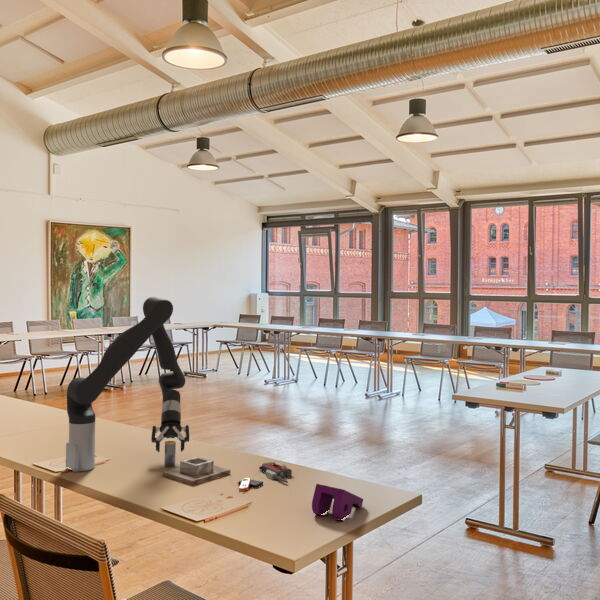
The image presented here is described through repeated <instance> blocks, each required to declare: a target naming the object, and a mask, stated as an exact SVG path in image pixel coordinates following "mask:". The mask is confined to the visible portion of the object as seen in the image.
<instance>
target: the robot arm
mask: <svg viewBox="0 0 600 600" xmlns="http://www.w3.org/2000/svg"><path fill="white" fill-rule="evenodd" d="M142 311H143V315H144V317H143V318H142V320H140V321H139V322H138V323H137V324H135V325H133V326H131V327H129V328H127V329H126V330H124V331H122V332H121V333H120V334H119V335H118V336H117V337H116V338H115V339H114V340H112V342H111V343H110V344H109V345H108V346H107V348H106V350H105V352H104V353H103V355H102V356H101V357H102V358H101V360H100V362H99V364H98V365H97V366H96V367H95V369H94V370H93V371H92V372H91V373H90V374H89V375H88V376H86V377H84V376H83V377H82V376H81V377H80V376H79V377H75V378H72V380H70V382H69V383H68V385H67V389H66V413H67V417H68V442H66V444H65V468H66V467H69V468H71V469H72V471H71V472H74V473H77V472H86V471H87V472H88V471H91V470H93V469H94V468H95V466H96V465H95V464H96V462H95V461H96V459H95V458H96V454H95V453H96V413H95V411H94V408H93V402H95V401H96V400H97V399H98V397H100V395H101V393H102V392H103V391H104V389H105V388H106V387H107V385H108V384H110V382H111V380H112V379H113V377H115V376H116V375H117V374H118V372H120V371H121V369H122V368H123V367H124V366H125V365H126V364H127V363H128V362H129V361H130V360H131V359H132V358H133V356H134V355H135V354H136V353H137V352H138V351H139V349H140V348H141V347H142V346H143V345H144V344H145V343H146V341H148V339H150V338H151V336H152V339H153V342H154V346H155V349H156V354H157V359H158V363H159V367H160V369H162V370H165V371H166V370H167V371H171V372H165V373H162V374H160V376H159V377H158V384H159V387H160V390H161V393H162V405H161V413H160V414H161V416H160V417H161V419H160V427H158V426H156V425H153V426H152V430H151V437H150V439H151V440H150V441H151V443H153V444H155V451H156V452H157V453H160V451H161V450H160V449H161V447H160V446H161V442H162V441H163V440H165V438H166V439H177V440H178V441H179V442H180V452H181V453H182V452H183V451H184V450H185V443H188V442H190V428H189V427H190V426H189V425H188V424H186V425H185V426H182V425H181V424H182V422H181V421H182V419H181V418H182V409H181V407H182V406H181V393H180V391H178V389H182V388H183V387H185V384H186V377H185V375H184V373H183V371H182V369H181V367H180V365H179V363H178V360H177V355H176V351H175V347H174V344H173V342H172V340H171V338H170V336H169V335H168V332H167V330H166V328H165V325H164V324H165V323H166V322H168V320H170V318H171V317H172V315H173V312H174V305H173V303H172V302H171V301H170V300H168V299H166V298H162V297H158V296H157V297H156V296H150V297H147V299H145V300H144V302H143V304H142ZM182 431H183V433H185V437H184V436H183V434H182V433H181V432H182ZM158 432H159V435H158V436H157V437H156V434H158Z"/></svg>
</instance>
